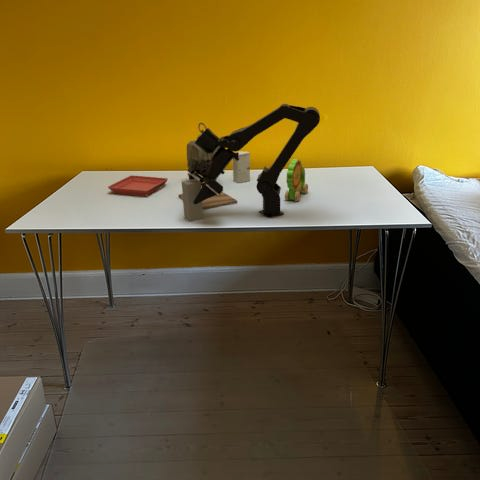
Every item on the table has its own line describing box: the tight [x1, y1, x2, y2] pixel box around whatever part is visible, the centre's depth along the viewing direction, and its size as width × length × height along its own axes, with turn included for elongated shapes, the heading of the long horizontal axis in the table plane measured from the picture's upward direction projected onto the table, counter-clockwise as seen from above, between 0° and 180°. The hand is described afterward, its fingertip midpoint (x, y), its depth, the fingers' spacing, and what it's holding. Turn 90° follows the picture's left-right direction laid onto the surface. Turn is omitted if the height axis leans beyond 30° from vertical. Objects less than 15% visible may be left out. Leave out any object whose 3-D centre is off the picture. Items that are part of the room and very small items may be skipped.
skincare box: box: [232, 150, 251, 184], centre depth 199 cm, size 6×4×12 cm
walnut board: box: [178, 191, 238, 211], centre depth 179 cm, size 18×16×1 cm
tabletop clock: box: [186, 122, 220, 183], centre depth 194 cm, size 14×9×25 cm, turn 30°
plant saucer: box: [107, 174, 168, 197], centre depth 193 cm, size 18×18×3 cm
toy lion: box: [284, 158, 309, 202], centre depth 177 cm, size 16×5×15 cm, turn 155°
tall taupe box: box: [181, 179, 204, 223], centre depth 160 cm, size 4×5×13 cm
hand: (189, 199), depth 159 cm, fingers open, 9 cm apart
